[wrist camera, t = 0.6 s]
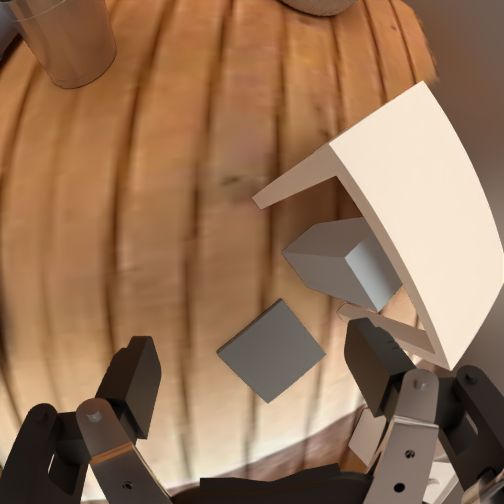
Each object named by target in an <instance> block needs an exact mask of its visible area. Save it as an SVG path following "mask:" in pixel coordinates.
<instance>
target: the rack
mask: <svg viewBox="0 0 504 504" xmlns="http://www.w3.org/2000/svg"><path fill="white" fill-rule="evenodd" d="M334 176H337V177H338V179H339V180H340V182H341V183H342V185H343V186H344V187H345V189H346V190H347V192H348V193H349V195H350V196H351V198H352V199H353V201H354V202H355V204H356V205H357V207H358V209H359V210H360V212H361V213H362V215H363V216H364V218H365V219H366V221H367V223H368V224H369V226H370V227H371V229H372V231H373V232H374V234H375V236H376V237H377V239H378V241H379V242H380V244H381V246H382V247H383V249H384V251H385V253H386V254H387V256H388V258H389V260H390V261H391V263H392V265H393V267H394V269H395V271H396V272H397V274H398V276H399V278H400V280H401V282H402V284H403V286H404V287H405V289H406V291H407V293H408V295H409V297H410V299H411V301H412V303H413V305H414V307H415V309H416V311H417V314H418V316H419V318H420V320H421V322H422V324H423V326H424V329H425V331H424V330H421V329H418V328H415V327H412V326H409V325H407V324H404V323H401V322H398V321H395V320H392V319H389V318H386V317H384V316H381V315H378V314H375V313H372V312H370V311H367V310H364V309H361V308H358V307H355V306H353V305H350V304H347V303H345V304H344V305H343V306H342V307H341V308H340V309H339V310H338V311H337V314H338V315H339V317H340V318H341V319H342V321H343V322H345V323H347V324H348V322H349V321H350V320H352V319H358V318H364V317H367V318H369V319H370V321H371V322H372V323H373V325H374V326H375V327H381V328H382V329H384V330H386V331H387V332H389V333H390V334H391V336H392V337H393V338H394V339H395V342H397V343H398V344H399V346H400V348H402V349H403V350H405V351H408V352H410V353H412V354H414V355H416V356H419V357H421V358H423V359H425V360H427V361H430V362H432V363H434V364H436V365H439V366H441V367H443V368H446V369H448V370H450V371H451V370H452V369H453V367H454V366H455V365H456V363H457V362H458V361H459V359H460V358H461V356H462V355H463V353H464V352H465V350H466V349H467V347H468V346H469V344H470V343H471V341H472V339H473V338H474V336H475V335H476V333H477V331H478V330H479V328H480V326H481V325H482V323H483V321H484V320H485V317H486V316H487V314H488V312H489V311H490V308H491V307H492V305H493V303H494V301H495V299H496V297H497V295H498V293H499V291H500V289H501V287H502V285H503V283H504V253H503V249H502V245H501V242H500V238H499V235H498V231H497V228H496V225H495V222H494V219H493V216H492V213H491V210H490V208H489V205H488V202H487V199H486V197H485V194H484V192H483V189H482V187H481V184H480V182H479V179H478V177H477V175H476V173H475V170H474V168H473V166H472V164H471V162H470V160H469V157H468V155H467V153H466V151H465V149H464V147H463V145H462V144H461V142H460V140H459V138H458V136H457V134H456V133H455V131H454V129H453V127H452V125H451V123H450V122H449V120H448V118H447V117H446V115H445V113H444V112H443V110H442V109H441V107H440V105H439V104H438V103H437V101H436V99H435V98H434V96H433V95H432V93H431V92H430V90H429V89H428V87H427V86H426V84H425V83H424V82H423V81H421V82H419V83H418V84H416V85H414V86H413V87H411V88H409V89H408V90H406V91H405V92H403V93H401V94H400V95H398V96H397V97H395V98H393V99H392V100H390V101H389V102H387V103H385V104H384V105H382V106H381V107H379V108H378V109H376V110H375V111H373V112H371V113H370V114H368V115H367V116H365V117H364V118H362V119H361V120H359V121H358V122H356V123H355V124H353V125H352V126H350V127H349V128H347V129H346V130H344V131H343V132H341V133H340V134H338V135H337V136H335V137H334V138H332V139H331V140H329V141H328V142H326V143H325V144H324V145H322V146H321V147H319V148H318V149H316V150H315V151H314V153H313V154H312V155H310V156H309V157H307V158H306V159H304V160H303V161H301V162H300V163H299V164H297V165H296V166H294V167H293V168H291V169H290V170H289V171H287V172H286V173H284V174H283V175H282V176H280V177H279V178H277V179H276V180H274V181H273V182H272V183H270V184H269V185H268V186H266V187H265V188H263V189H262V190H261V191H259V192H258V193H257V194H255V195H254V196H253V197H252V199H253V200H254V202H255V203H256V204H257V206H258V207H259V208H260V209H263V208H265V207H267V206H270V205H272V204H274V203H276V202H278V201H280V200H283V199H285V198H287V197H289V196H291V195H293V194H296V193H298V192H300V191H302V190H304V189H307V188H309V187H311V186H313V185H316V184H318V183H320V182H322V181H325V180H327V179H329V178H331V177H334Z"/></svg>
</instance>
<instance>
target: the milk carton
mask: <svg viewBox="0 0 504 504" xmlns="http://www.w3.org/2000/svg"><path fill="white" fill-rule="evenodd" d="M385 422H386V418H385V416H384V415H383V416H380V417H377V418H374V417H373V415H372V413H371V411H370V409H369V408H368V409H364V410H363V412H362V415H361V417H360V420H359V422H358V424H357V426H356V429H355V431H354V433H353V435H352V437H351V439H350V442H349V444H348V446H349V447H350V448H351V449H352V450H353V451H354V452H355V454H356V455H357V456H358V457H359V458H360V459H361V460H362V461H363V462H364V463H365V464H366V465H367V467H368V465H369V463H370V461H371V459H372V456H373V454H374V451H375V449H376V446H377V443H378V441H379V438H380V435H381V432H382V429H383V427H384V424H385ZM458 480H459V479H458V477H457V475H456V473H455V471H454V469H453V467H452V465H451V463H450V461H449V459H448V457H447V455H446V453H445V451H444V449H443V447H442V445H441V443H440V441H439V439H438V438H437V443H436V449H435V454H434V459H433V463H432V468H431V472H430V476H429V480H428V483H427V487H426V491H425V494H424V497H423V501H425V502H427V503H429V504H441V503H442V502H443V501H444V499H445V498H446V497H447V495H448V494H449V493H450V491H451V490H452V488H453V487H454V486H455V485H456V483H457V482H458Z"/></svg>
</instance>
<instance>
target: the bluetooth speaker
mask: <svg viewBox="0 0 504 504" xmlns="http://www.w3.org/2000/svg"><path fill="white" fill-rule="evenodd" d="M17 34H18V30H17V29H16V27H15V26H14V24H13V23H12V21H11V19H10V18H9V17H8V15H7V14H6V12H5V10H4V9H3V7H2V6H1V4H0V61H1V59H2V58H3V55H4V51H5V50H6V49H7V47H8V46H9V45H10V43H11V41H12V40H13V39H14V38H15V36H16V35H17Z"/></svg>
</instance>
